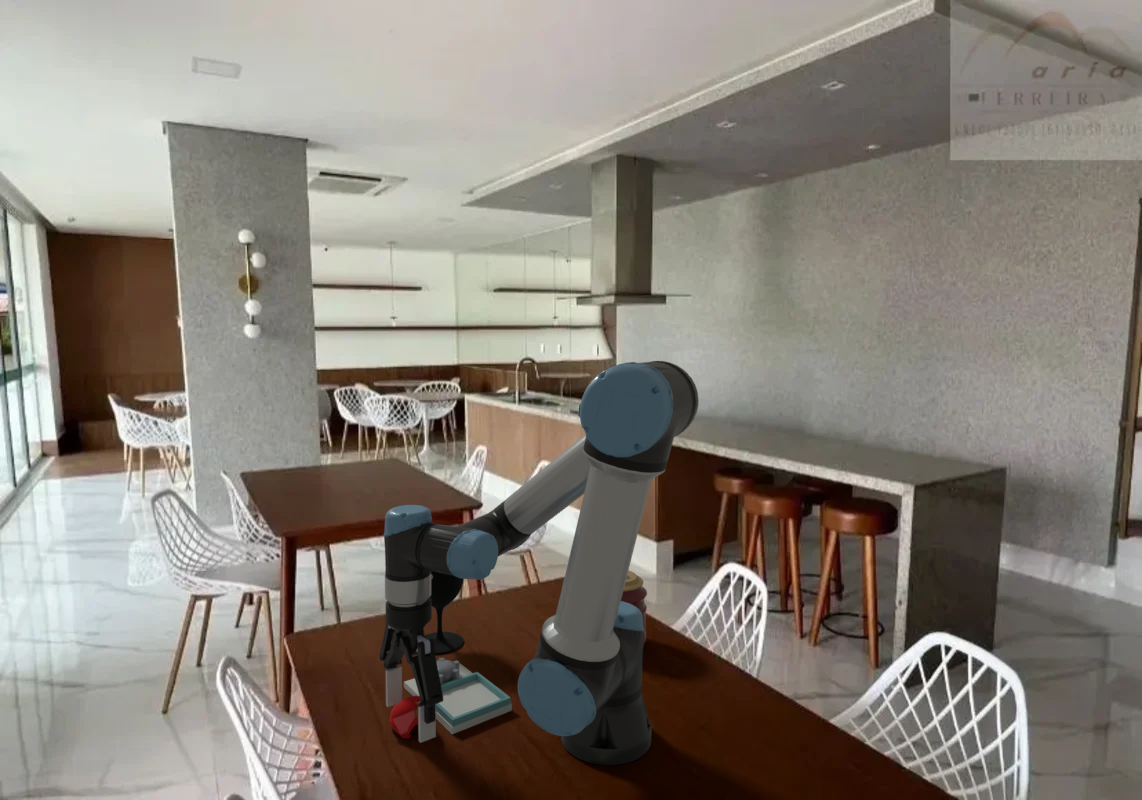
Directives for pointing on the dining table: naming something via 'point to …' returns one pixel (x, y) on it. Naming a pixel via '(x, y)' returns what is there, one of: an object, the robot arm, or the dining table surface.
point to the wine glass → (441, 596)
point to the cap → (404, 716)
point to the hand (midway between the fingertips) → (409, 720)
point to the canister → (635, 596)
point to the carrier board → (464, 697)
